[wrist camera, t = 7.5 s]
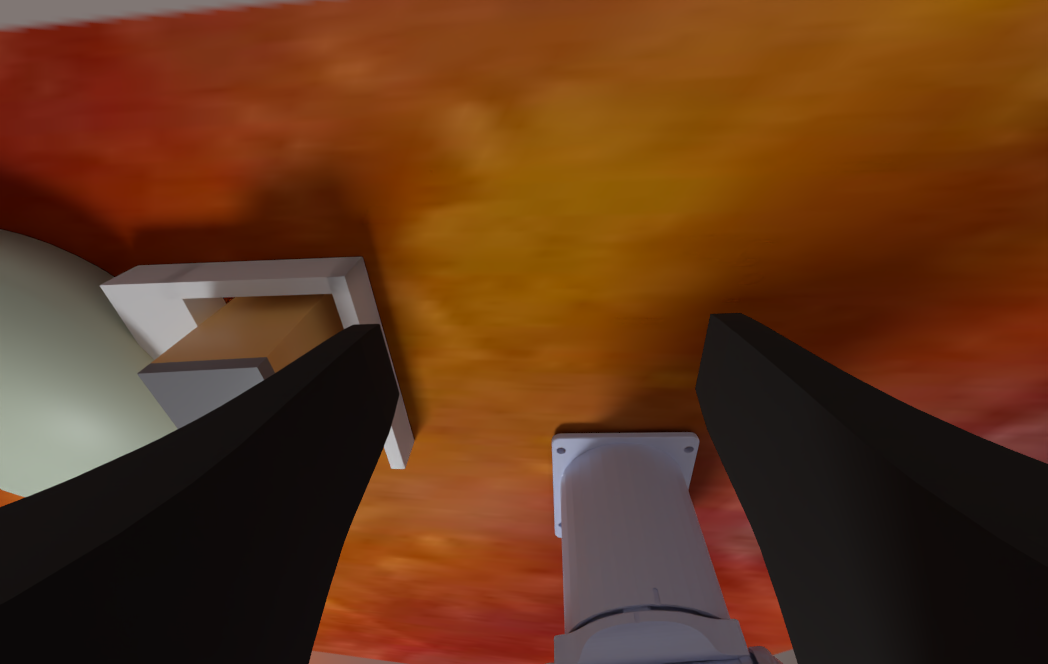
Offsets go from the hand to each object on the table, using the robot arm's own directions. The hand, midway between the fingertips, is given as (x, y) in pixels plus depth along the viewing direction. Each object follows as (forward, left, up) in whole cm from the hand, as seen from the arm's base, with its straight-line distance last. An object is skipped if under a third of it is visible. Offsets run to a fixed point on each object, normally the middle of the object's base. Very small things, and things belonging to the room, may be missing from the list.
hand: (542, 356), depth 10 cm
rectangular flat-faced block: (-7, +12, -10) cm, 17 cm away
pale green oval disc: (-7, +21, -9) cm, 24 cm away
